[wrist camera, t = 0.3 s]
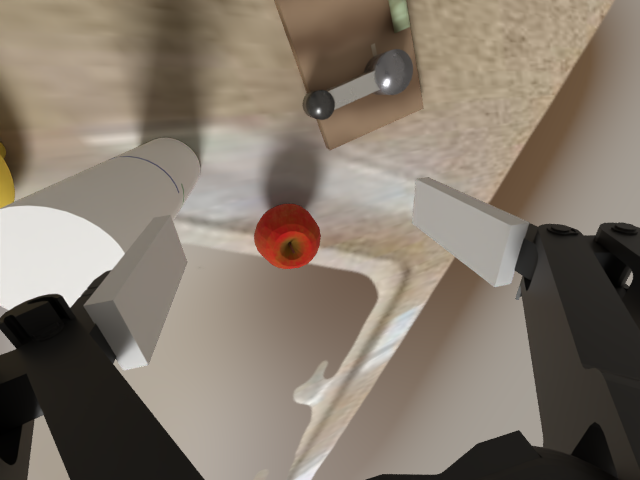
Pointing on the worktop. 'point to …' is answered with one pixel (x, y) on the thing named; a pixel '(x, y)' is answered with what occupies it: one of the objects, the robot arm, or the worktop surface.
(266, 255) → the apple
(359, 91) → the knob
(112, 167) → the cylindrical container
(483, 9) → the worktop surface
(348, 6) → the levelling board
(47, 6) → the worktop surface
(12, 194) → the teapot
